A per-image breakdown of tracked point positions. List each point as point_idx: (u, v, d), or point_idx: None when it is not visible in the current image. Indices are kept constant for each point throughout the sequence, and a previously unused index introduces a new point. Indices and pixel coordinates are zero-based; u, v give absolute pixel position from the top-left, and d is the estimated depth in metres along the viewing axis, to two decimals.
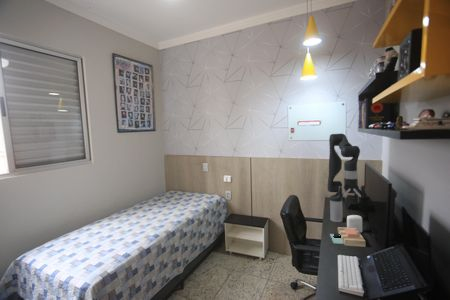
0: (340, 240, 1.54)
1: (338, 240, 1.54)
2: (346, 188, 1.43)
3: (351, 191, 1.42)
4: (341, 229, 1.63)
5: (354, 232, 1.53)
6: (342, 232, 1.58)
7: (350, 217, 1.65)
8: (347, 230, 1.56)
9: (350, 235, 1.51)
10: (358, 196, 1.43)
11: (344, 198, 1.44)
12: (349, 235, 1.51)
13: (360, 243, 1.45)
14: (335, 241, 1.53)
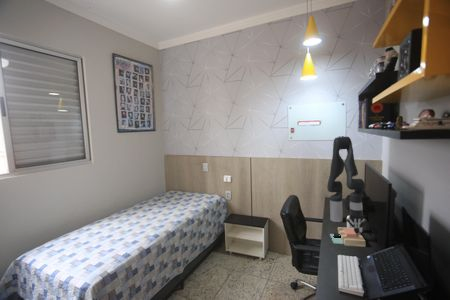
0: (340, 240, 1.54)
1: (338, 240, 1.54)
2: (352, 220, 1.53)
3: (356, 221, 1.52)
4: (341, 229, 1.63)
5: (353, 232, 1.53)
6: (342, 232, 1.58)
7: None
8: (346, 230, 1.56)
9: (349, 235, 1.51)
10: None
11: (356, 229, 1.53)
12: (348, 235, 1.51)
13: (360, 243, 1.45)
14: (335, 241, 1.53)
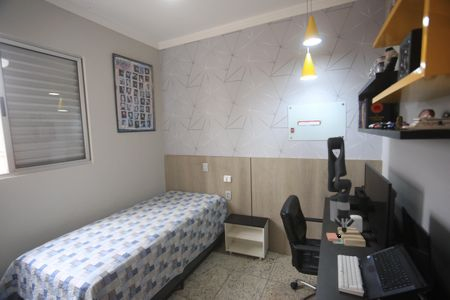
0: (340, 240, 1.54)
1: None
2: (339, 219, 1.55)
3: (344, 221, 1.54)
4: (341, 229, 1.63)
5: None
6: (342, 232, 1.58)
7: None
8: None
9: (336, 240, 1.53)
10: (344, 226, 1.55)
11: (344, 229, 1.55)
12: (337, 240, 1.53)
13: (360, 243, 1.45)
14: None
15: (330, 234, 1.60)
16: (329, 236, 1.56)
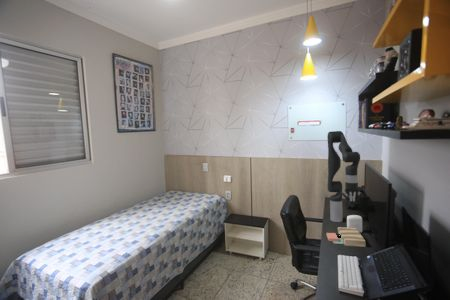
0: (340, 240, 1.54)
1: None
2: (347, 193, 1.52)
3: (352, 194, 1.52)
4: (341, 229, 1.63)
5: None
6: (342, 232, 1.58)
7: (350, 217, 1.65)
8: None
9: (336, 240, 1.53)
10: None
11: (351, 202, 1.52)
12: (337, 240, 1.53)
13: (360, 243, 1.45)
14: None
15: (330, 234, 1.60)
16: (329, 236, 1.56)
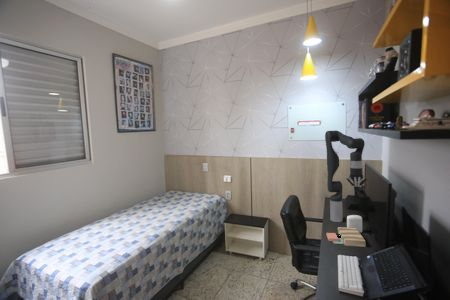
0: (340, 240, 1.54)
1: None
2: (352, 178, 1.57)
3: (356, 179, 1.57)
4: (341, 229, 1.63)
5: None
6: (342, 232, 1.58)
7: (350, 217, 1.65)
8: None
9: (336, 240, 1.53)
10: None
11: (356, 187, 1.57)
12: (337, 240, 1.53)
13: (360, 243, 1.45)
14: None
15: (330, 234, 1.60)
16: (329, 236, 1.56)
